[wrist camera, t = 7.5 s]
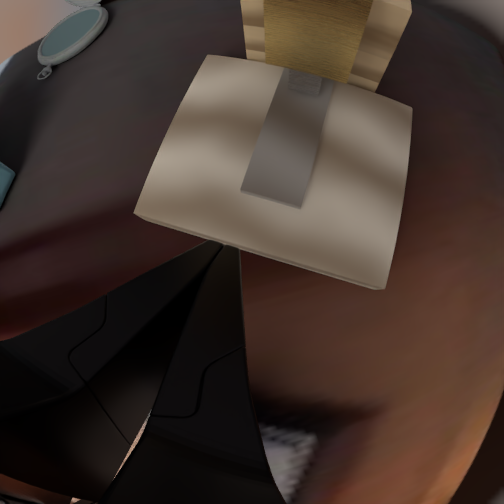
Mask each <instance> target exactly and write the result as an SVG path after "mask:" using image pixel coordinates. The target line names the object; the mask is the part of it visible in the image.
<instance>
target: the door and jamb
mask: <svg viewBox="0 0 504 504" xmlns="http://www.w3.org/2000/svg"><path fill="white" fill-rule="evenodd" d="M240 1H241V9H242V18H243V27H244V36H245V45H246V55H247V60H245V59H239V58H232V57H224V56H216V55H207V57H206V58H205V60H204V62H203V64H202V65H201V67H200V69H199V71H198V73H197V74H196V76H195V78H194V80H193V82H192V84H191V85H190V87H189V89H188V91H187V93H186V95H185V97H184V99H183V101H182V103H181V105H180V107H179V109H178V111H177V113H176V115H175V117H174V119H173V121H172V123H171V125H170V127H169V129H168V131H167V133H166V136H165V138H164V140H163V142H162V144H161V147H160V149H159V151H158V153H157V156H156V158H155V160H154V163H153V165H152V167H151V170H150V172H149V175H148V177H147V180H146V182H145V184H144V187H143V190H142V192H141V195H140V197H139V200H138V203H137V205H136V208H135V211H134V214H136V215H138V216H139V217H141V218H142V219H144V220H146V221H149V222H153V223H156V224H159V225H162V226H166V227H169V228H172V229H176V230H179V231H182V232H185V233H189V234H192V235H195V236H199V237H202V238H205V239H208V240H214V241H218V242H221V243H223V244H225V245H226V244H227V245H231V246H234V247H237V248H239V249H241V250H245V251H248V252H251V253H255V254H258V255H261V256H264V257H268V258H271V259H274V260H278V261H281V262H284V263H287V264H291V265H294V266H297V267H301V268H304V269H307V270H311V271H314V272H317V273H320V274H324V275H327V276H330V277H334V278H337V279H340V280H344V281H347V282H350V283H353V284H357V285H360V286H363V287H367V288H370V289H373V290H378V289H385V287H386V283H387V279H388V275H389V271H390V266H391V262H392V258H393V253H394V248H395V244H396V239H397V234H398V228H399V223H400V217H401V211H402V205H403V199H404V192H405V185H406V178H407V170H408V161H409V151H410V140H411V127H412V107H409V106H407V105H405V104H402V103H400V102H397V101H395V100H392V99H390V98H387V97H384V96H382V95H379V94H376V93H375V91H376V89H377V87H378V85H379V82H380V80H381V78H382V76H383V74H384V72H385V70H386V68H387V66H388V64H389V61H390V59H391V57H392V55H393V53H394V51H395V49H396V46H397V44H398V42H399V40H400V38H401V35H402V33H403V31H404V29H405V27H406V24H407V22H408V20H409V18H410V15H411V13H412V10H411V1H410V0H373V3H372V6H371V10H370V13H369V16H368V19H367V22H366V26H365V29H364V32H363V35H362V38H361V41H360V44H359V48H358V51H357V54H356V57H355V60H354V63H353V66H352V69H351V72H350V75H349V78H348V81H347V84H345V83H341V82H338V81H335V80H331V79H328V78H324V77H323V79H322V83H321V86H320V90H319V94H318V96H317V95H314V94H310V93H306V92H302V91H299V90H295V89H290V88H288V84H289V71H290V69H288V68H284V67H279V66H274V65H269V64H266V62H265V32H264V6H263V0H240Z"/></svg>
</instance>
